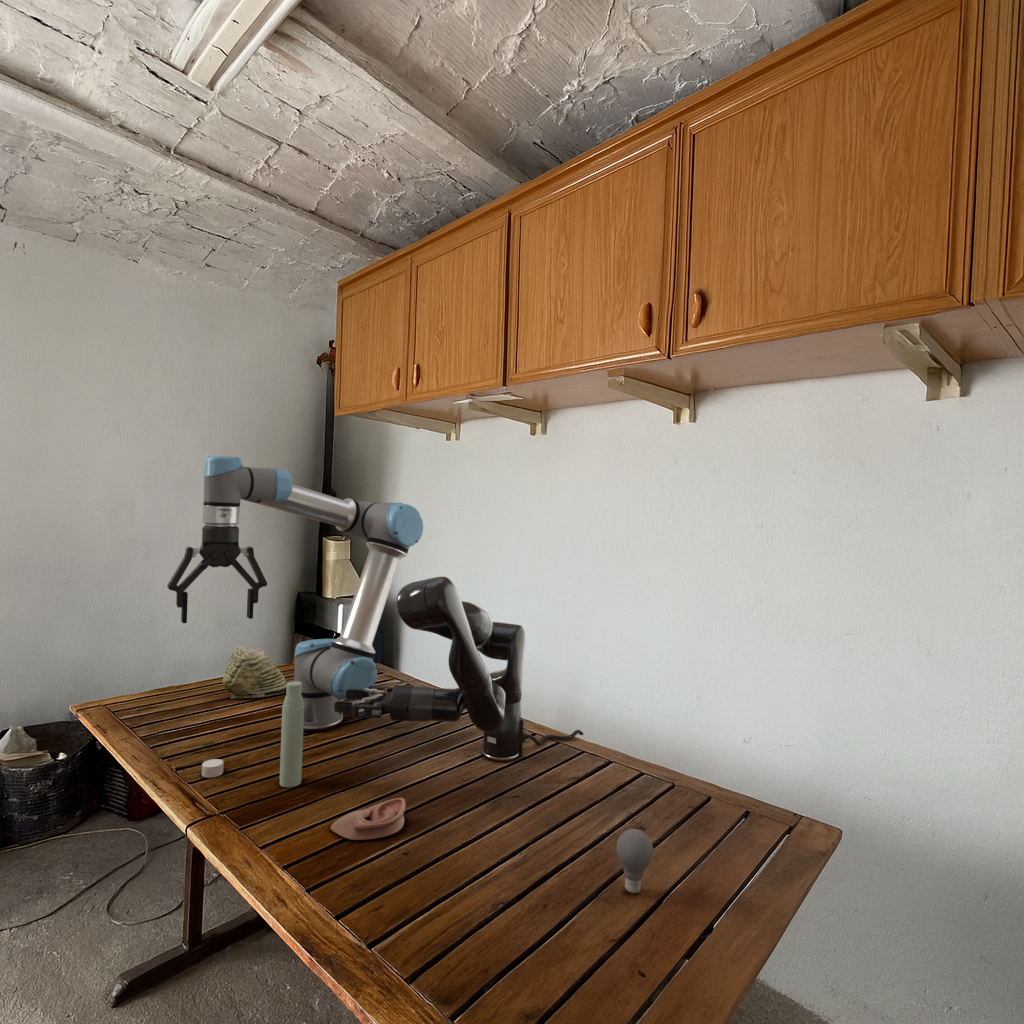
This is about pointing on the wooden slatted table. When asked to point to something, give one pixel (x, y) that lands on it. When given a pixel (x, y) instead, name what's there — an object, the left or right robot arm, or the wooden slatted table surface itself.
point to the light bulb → (634, 857)
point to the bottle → (292, 736)
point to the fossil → (252, 674)
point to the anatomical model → (372, 821)
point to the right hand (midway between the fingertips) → (340, 699)
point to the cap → (212, 768)
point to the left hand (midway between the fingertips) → (217, 620)
